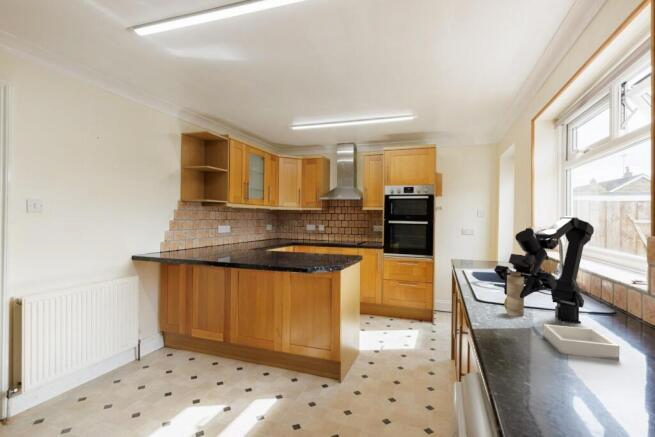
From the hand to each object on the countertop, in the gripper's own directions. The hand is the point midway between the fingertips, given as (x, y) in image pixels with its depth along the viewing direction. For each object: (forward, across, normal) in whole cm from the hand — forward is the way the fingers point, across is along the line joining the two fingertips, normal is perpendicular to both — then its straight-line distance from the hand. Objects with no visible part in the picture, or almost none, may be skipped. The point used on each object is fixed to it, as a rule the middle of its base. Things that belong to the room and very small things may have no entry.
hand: (512, 295), depth 106 cm
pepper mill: (+4, 0, +6) cm, 7 cm away
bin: (+3, +15, +16) cm, 22 cm away
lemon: (-6, -14, +25) cm, 30 cm away
